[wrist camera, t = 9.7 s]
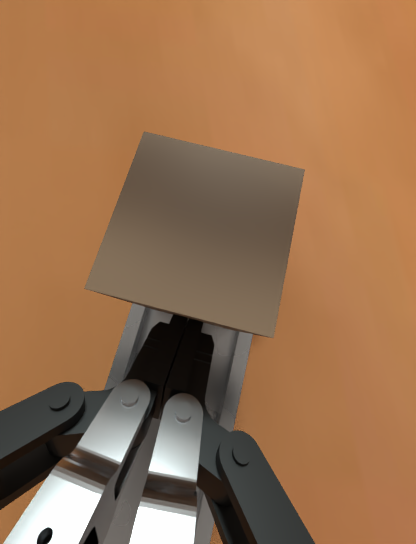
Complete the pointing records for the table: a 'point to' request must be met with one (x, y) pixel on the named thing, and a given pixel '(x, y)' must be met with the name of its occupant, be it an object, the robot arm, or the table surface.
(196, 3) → the table surface
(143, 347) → the robot arm
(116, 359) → the track
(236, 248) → the slider block
